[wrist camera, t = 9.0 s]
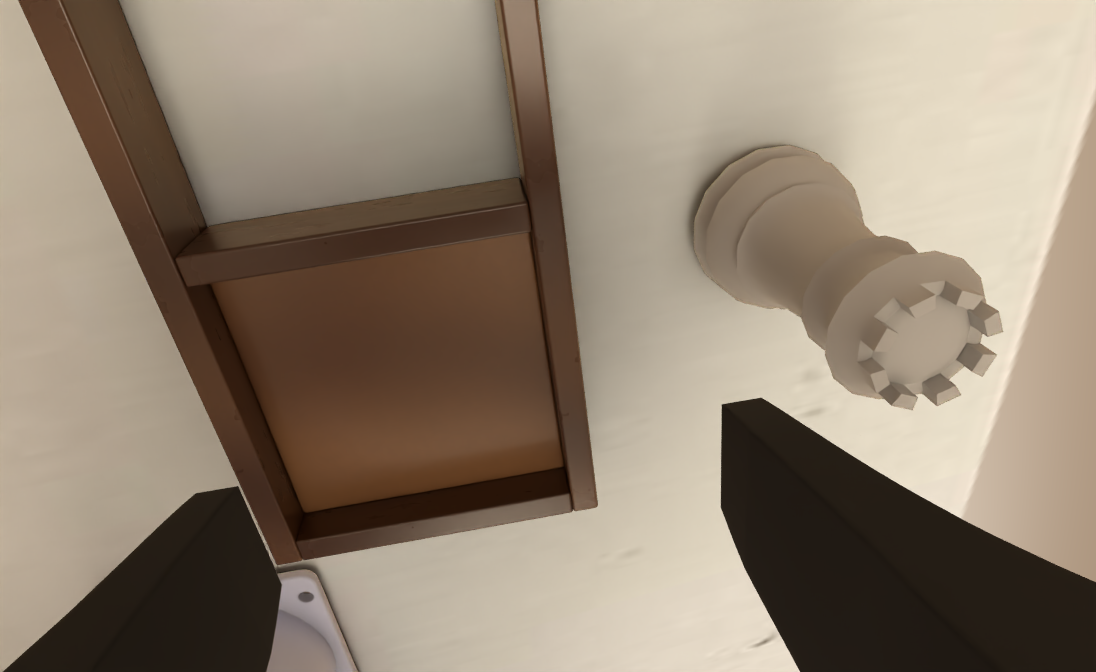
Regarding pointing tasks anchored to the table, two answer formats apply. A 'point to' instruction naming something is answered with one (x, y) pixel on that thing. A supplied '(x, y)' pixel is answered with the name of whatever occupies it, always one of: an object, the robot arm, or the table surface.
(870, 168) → the table surface
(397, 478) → the walnut tray
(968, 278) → the rook chess piece
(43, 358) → the table surface
